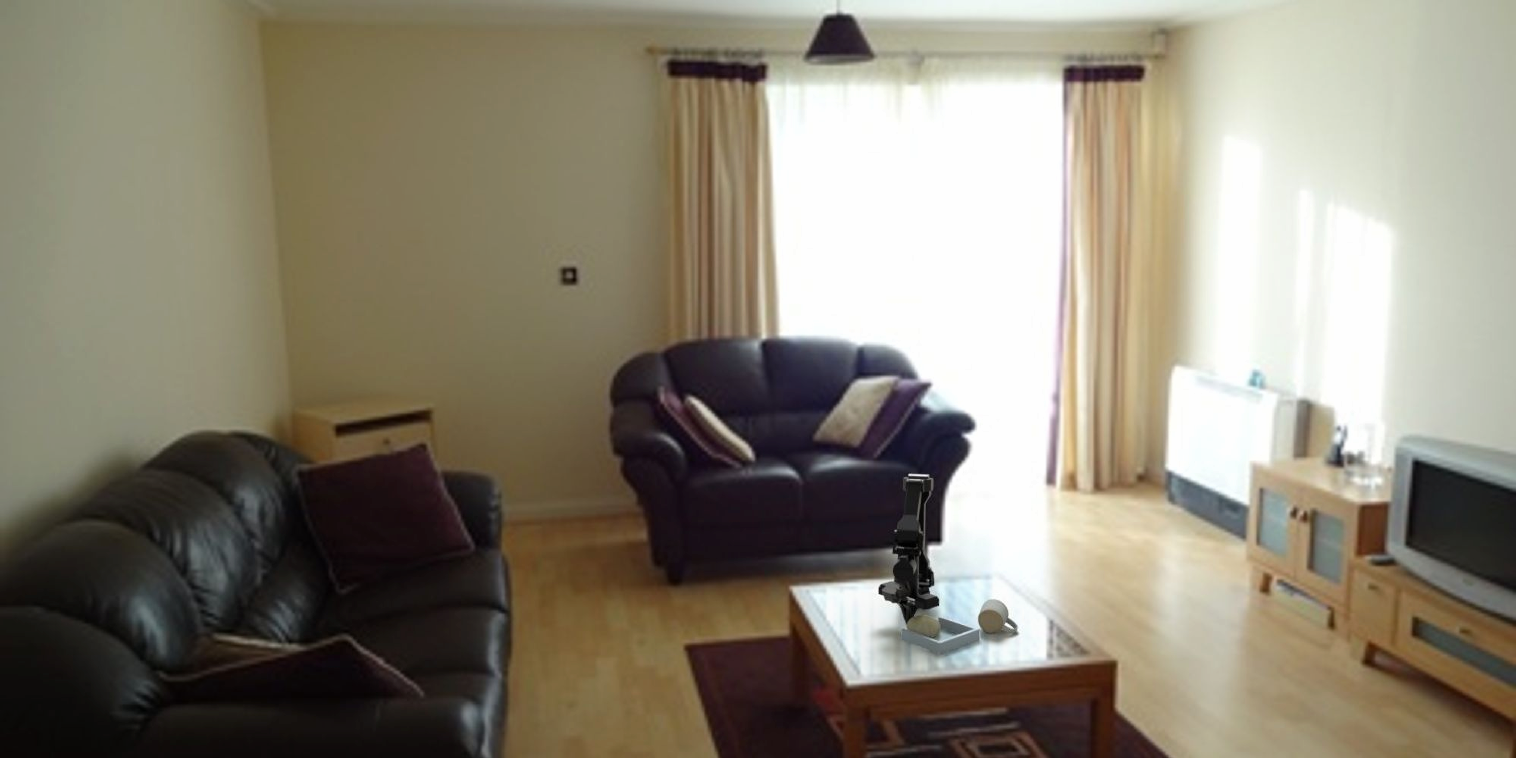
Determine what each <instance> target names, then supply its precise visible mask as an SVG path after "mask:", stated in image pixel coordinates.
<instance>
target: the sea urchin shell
mask: <svg viewBox="0 0 1516 758" xmlns="http://www.w3.org/2000/svg"><path fill="white" fill-rule="evenodd" d="M906 629H907V630H909V631H912V632H915V633H918V634H921V635H923V636H926V637H929V638H934V637H936V636H938V635H939V634H940V633H941V629H942V628H941V626H940V623H939V622H938V620H937V619H936V618H935V617H933V616H929V615H925V614H919V615H915V616H914V617H912V618H911V619H909V621H908V623H907V625H906Z"/></svg>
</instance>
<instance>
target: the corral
mask: <svg viewBox="0 0 1516 758" xmlns="http://www.w3.org/2000/svg"><path fill="white" fill-rule="evenodd" d="M937 619H938V620H937V621H938V622H939V623H940V626H941V629H943V630H946V631H949V632H952V633H955V635H954V636H951V637H948V638H945V639H942V640H936V639H934V638H933V637H931V638H929V637H926V636H923V635H921V634H918V633H915V632H912V631H909V630H907V628H901V629H900V637H901V638H900V639H901V641H903V642H906V643H908V644H911V645H914V646H917V647H919V648H922V649H925V650H927V651H930V652H933V653H935V654H939V655H941V654H944V653H947V652H951V651H952V650H955V649H959V648H960V647H963V646H967V645H968V644H972V643H975V642H977V641H980V636H981V635H980V634H981V632H980V629H981V628H977V627H975V626H971V625H969V624H965V623H964V622H959V621H957V620H954V619H950V618H948V617H945V616H942V615H940V616H938V618H937Z"/></svg>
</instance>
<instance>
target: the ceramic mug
mask: <svg viewBox="0 0 1516 758" xmlns="http://www.w3.org/2000/svg"><path fill="white" fill-rule="evenodd" d="M1009 613H1010V612H1009V609H1008V607H1007V606H1006V604H1005V603H1004V602H1002V601H1001V600H999V599H995V598H994V599H993V598H992V599H987V600H986V601H984V603H982V606H981V607H980V611H979V612H978V616H977V617H978V618H977V622H978V626H979V627H980V629H981V630H982V631H984V632H986V633H988V634H996V633H998V632H1000V631H1001V630H1002V631H1004V632H1006V633H1007V634H1008V633H1009V634H1016V632H1017V631H1018V629H1019V626H1018V624H1017V623H1016V622H1015V620H1012V619H1011V618H1009ZM1006 624H1008V625H1009V626H1010V627H1009V626H1007V625H1006ZM1011 627H1012V628H1011Z"/></svg>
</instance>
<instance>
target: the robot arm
mask: <svg viewBox="0 0 1516 758" xmlns="http://www.w3.org/2000/svg"><path fill="white" fill-rule="evenodd" d="M902 479H903V480H902V481H903V482H902V485H903V486H902V488H903V489H902V490H903V491H905V502H904V509H903V513H902V514H903V515H902V518H901V519H900V520H899V521H898V522H897V526H896V529H894V532H893V541H892V542H893V543H892V551H891V552H892V555H897V560H896V562H895V563H894V565H893V568H892V575H893V578H894V579H893V580H890V581H887V582H883V583H881V584H880V585H879V586H878V587H877V588H878V593H877V594H878V595H880V596H883V598H884V601H886V602H887V601H888V602H890V603H891V604H897V605H898V606H899V608H900V611H901V614H902V617H903V619H904V622H905V625H906V626H907V623H908V621H909V619H911V618H912V617H914V616H916V614H917V612H918V610H920V609H921V610H923V611H927V610H928V611H929V610H931V609H933V608H938V607H939V606H940V598H939V596H938V595H936V594H933V593H931V590H930V588H932V587H934V586H935V585H936V584H935V574H934V571H933V568H932V566H931V561H930V558H929V557H928V555H927V553H926V550H925V549H926V548H925V547H926V511H927V510H926V507H927V506H926V504H927V501H928V500H929V499H930V497H931V496H932V491H933V490H934V478H933V477H930V474H929V473H927V474H926V473H908V476H905V477H903V478H902Z"/></svg>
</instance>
